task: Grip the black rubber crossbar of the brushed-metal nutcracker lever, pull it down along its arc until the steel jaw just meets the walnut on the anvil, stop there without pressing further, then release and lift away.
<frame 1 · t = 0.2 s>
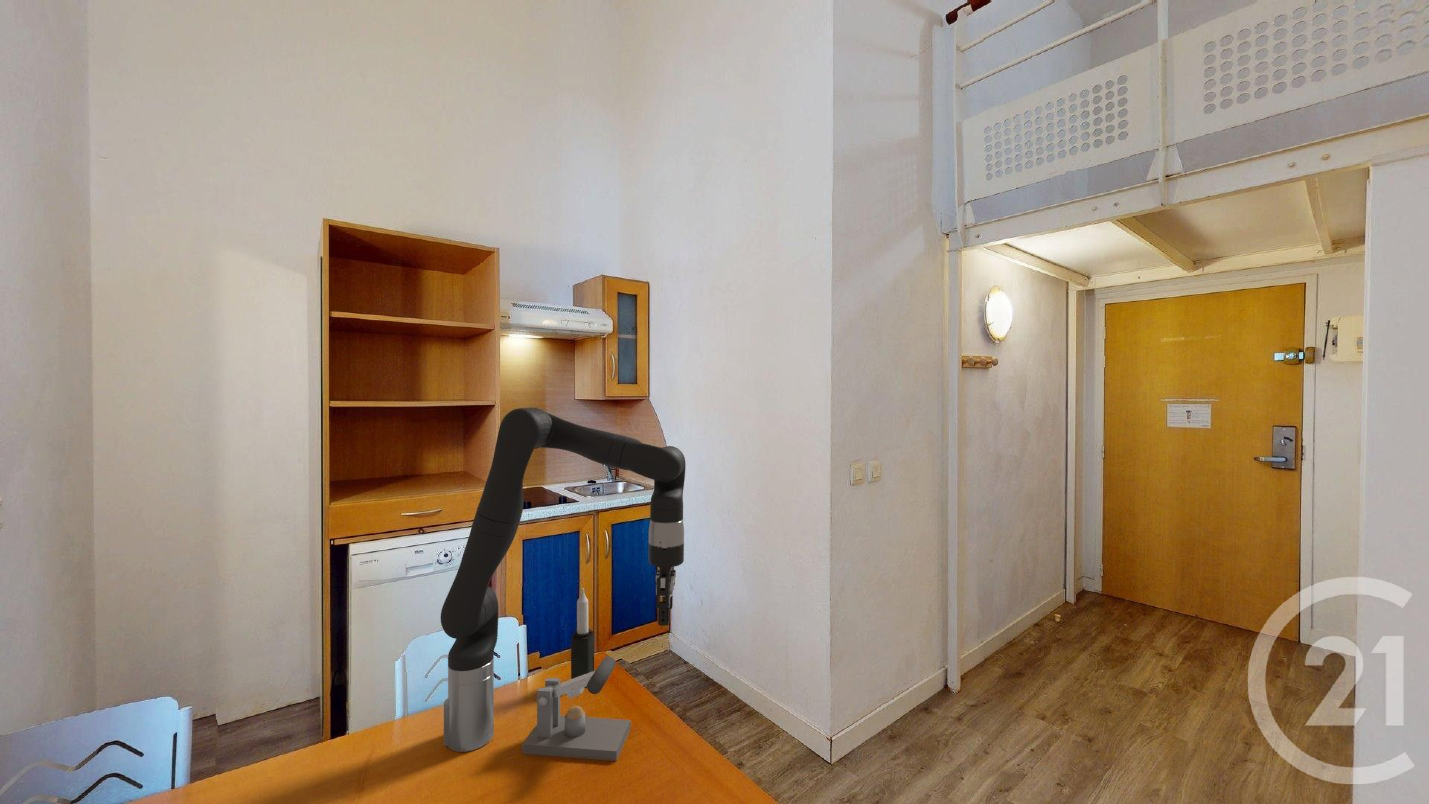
hand: (665, 616, 115), 29 cm above the table, tool pointing down, fingers open, 8 cm apart
black and grey rod: (582, 683, 143), on the table
lever: (575, 685, 118), point 12 cm above the table, hinge at -22.0°
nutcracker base: (548, 738, 119), on the table
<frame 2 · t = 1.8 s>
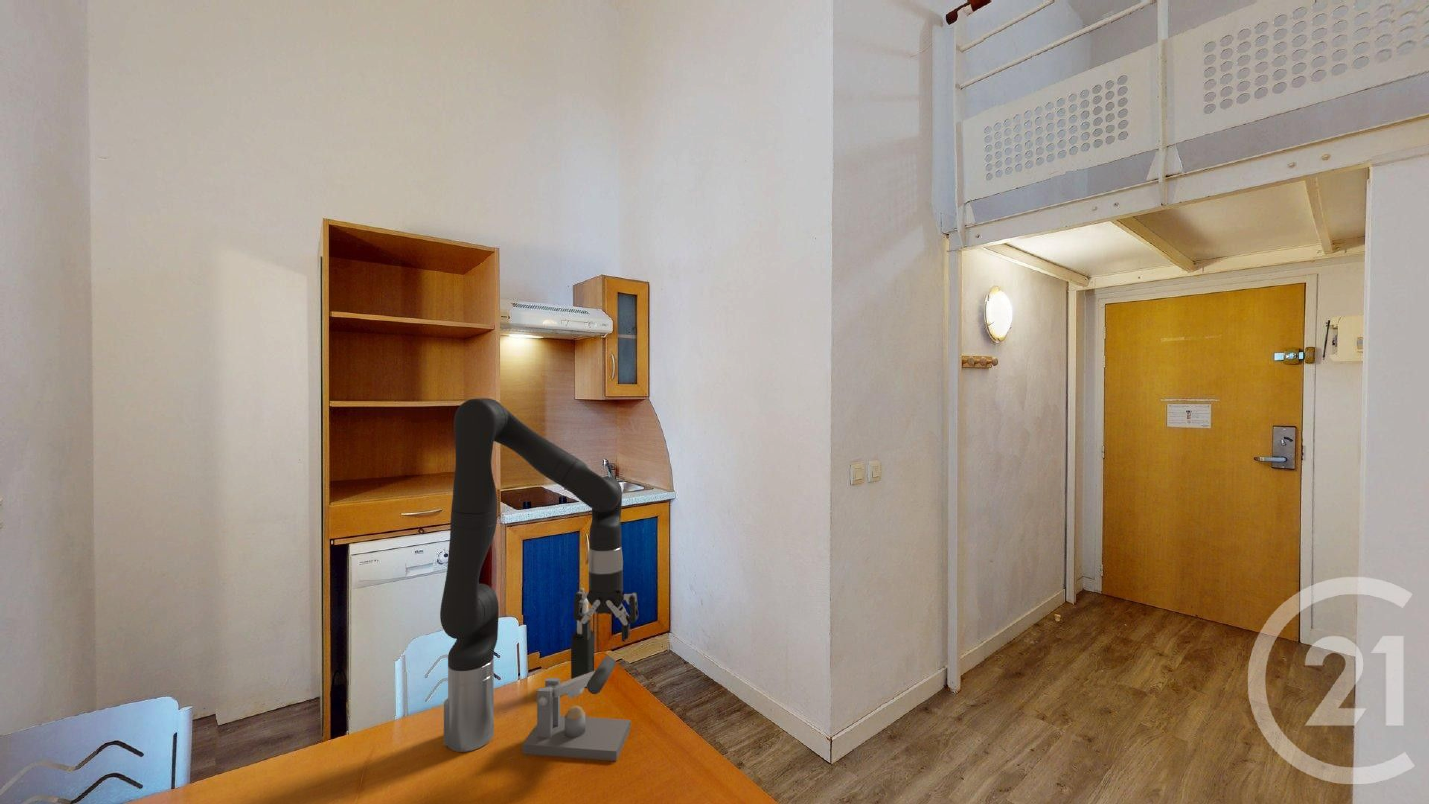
hand: (606, 639, 121), 21 cm above the table, tool pointing down, fingers open, 8 cm apart
nothing on the table moved.
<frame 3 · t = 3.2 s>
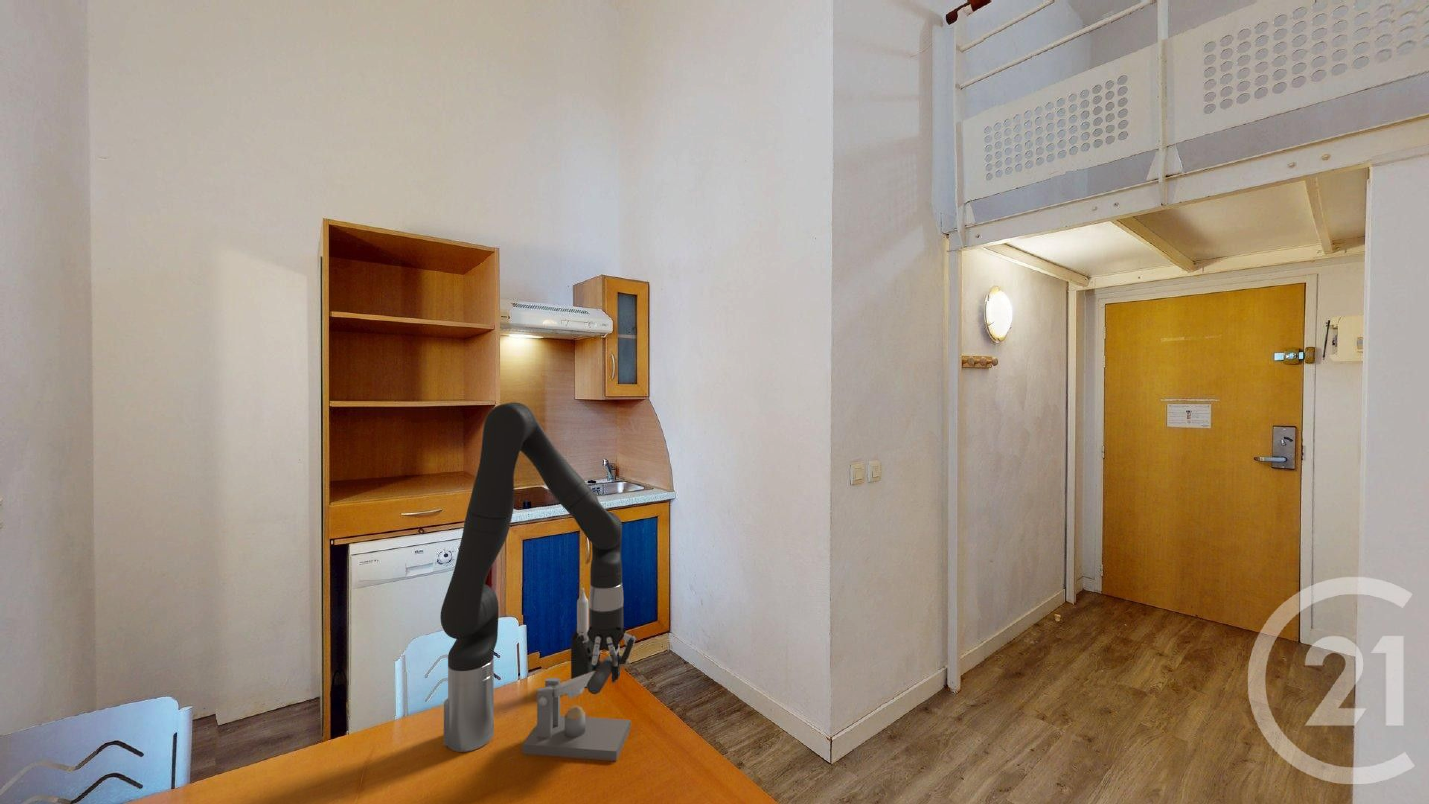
hand: (606, 679, 121), 12 cm above the table, tool pointing down, fingers closed on lever, 3 cm apart
lever: (575, 685, 118), point 12 cm above the table, hinge at -22.0°, touching gripper
everything else where it was.
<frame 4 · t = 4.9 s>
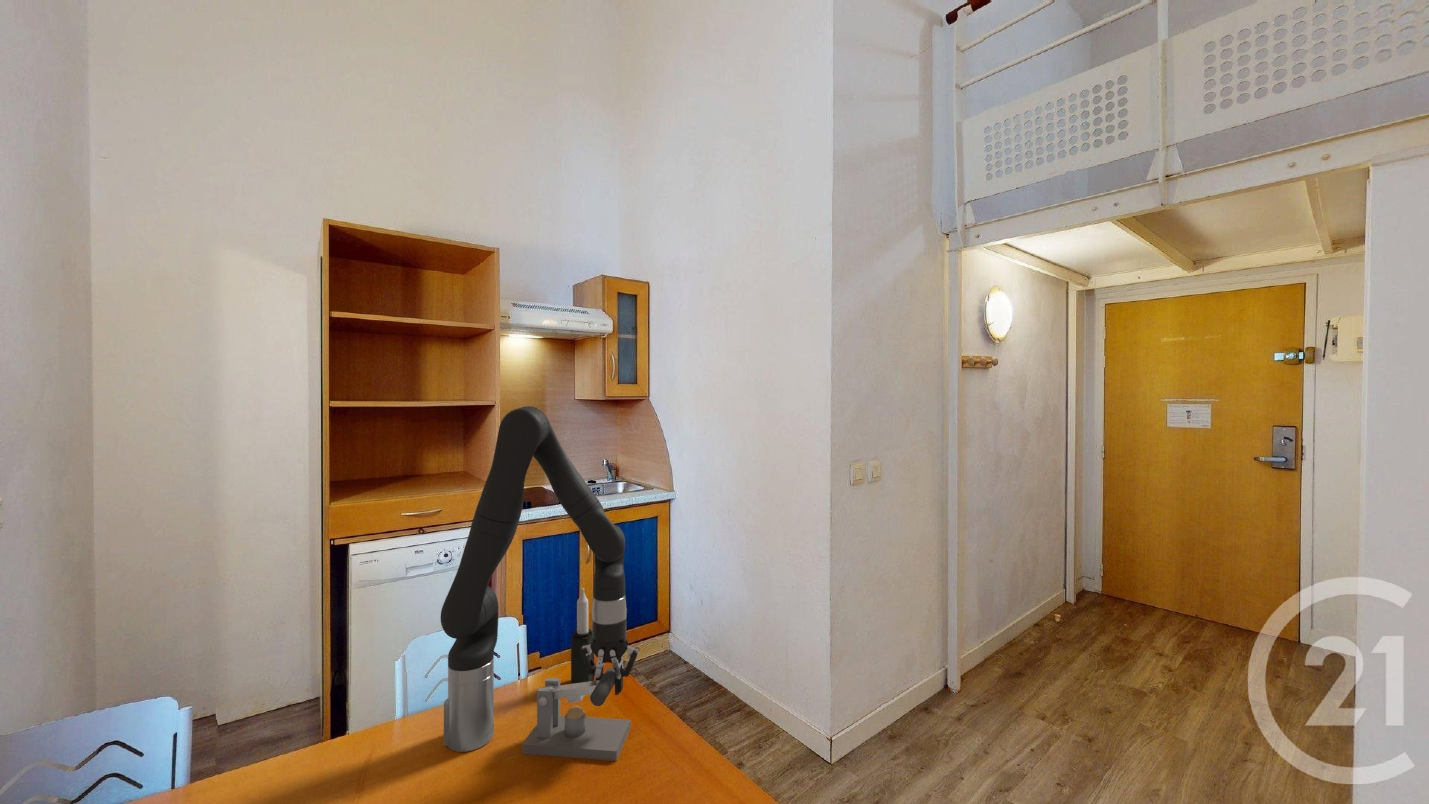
hand: (609, 692, 121), 9 cm above the table, tool pointing down, fingers closed on lever, 3 cm apart
lever: (577, 690, 118), point 11 cm above the table, hinge at -10.7°, touching gripper
everything else where it was.
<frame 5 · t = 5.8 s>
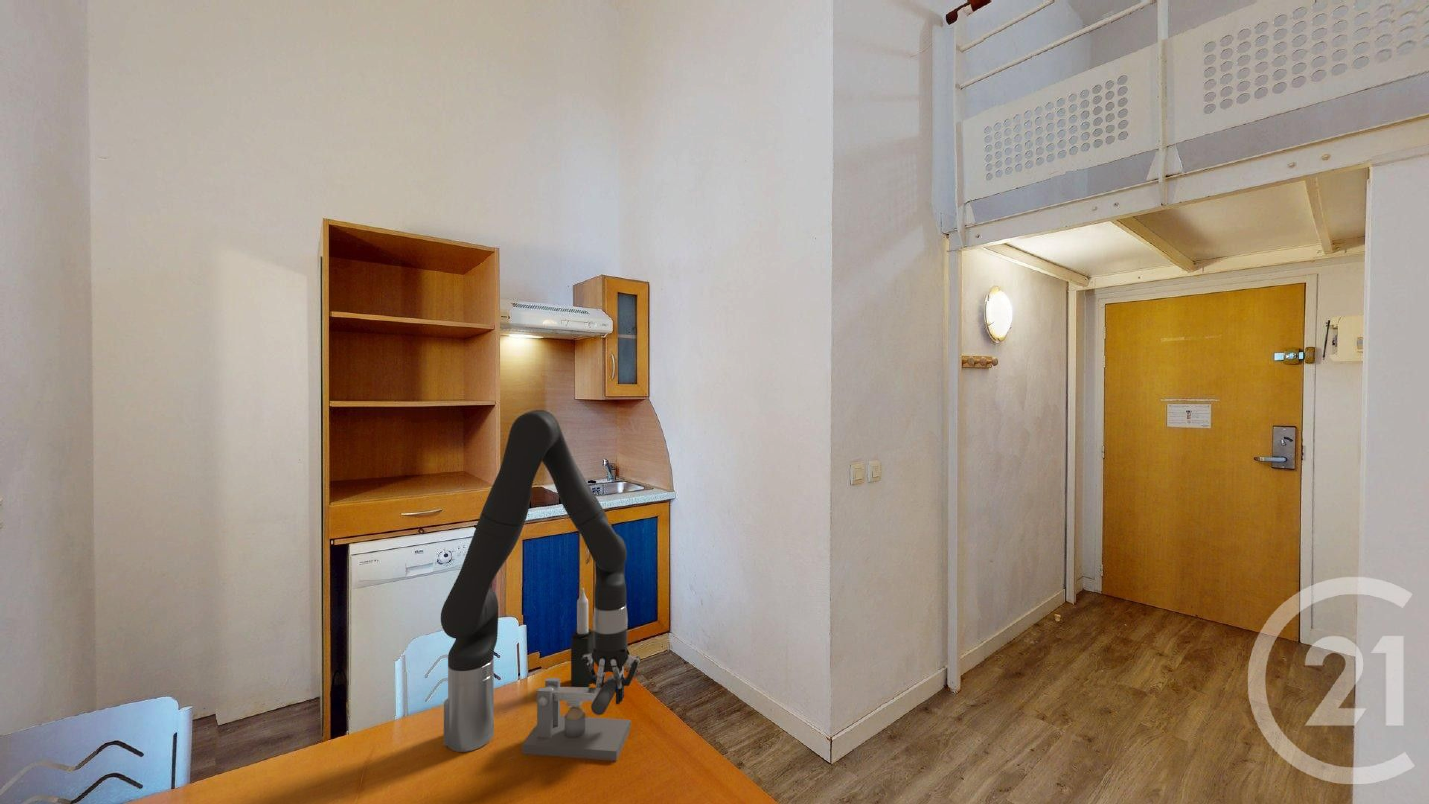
hand: (610, 701, 121), 7 cm above the table, tool pointing down, fingers closed on lever, 3 cm apart
lever: (577, 695, 118), point 10 cm above the table, hinge at -2.5°, touching gripper
everything else where it was.
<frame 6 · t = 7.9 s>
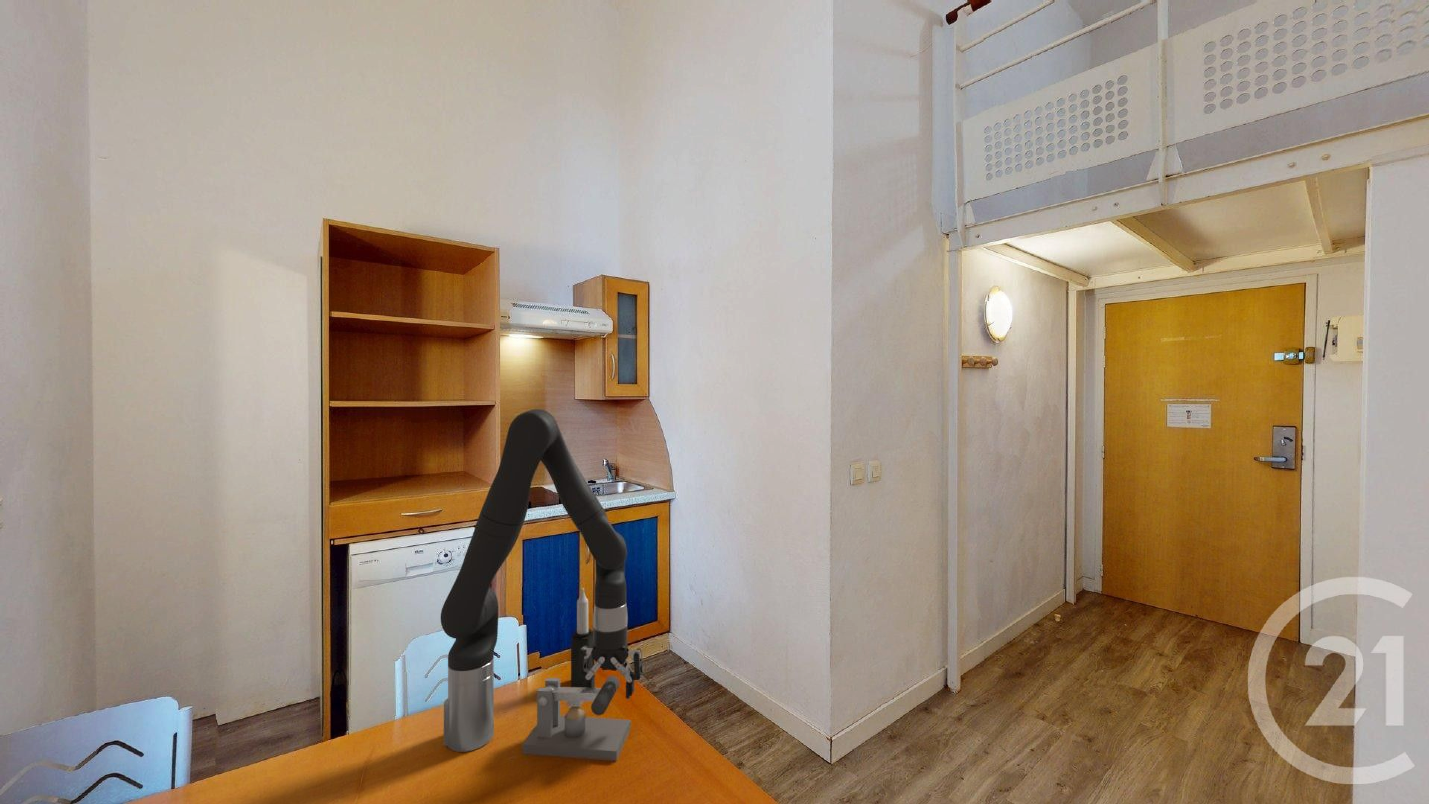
hand: (610, 695, 121), 9 cm above the table, tool pointing down, fingers open, 8 cm apart
lever: (577, 695, 118), point 10 cm above the table, hinge at -2.2°
everything else where it was.
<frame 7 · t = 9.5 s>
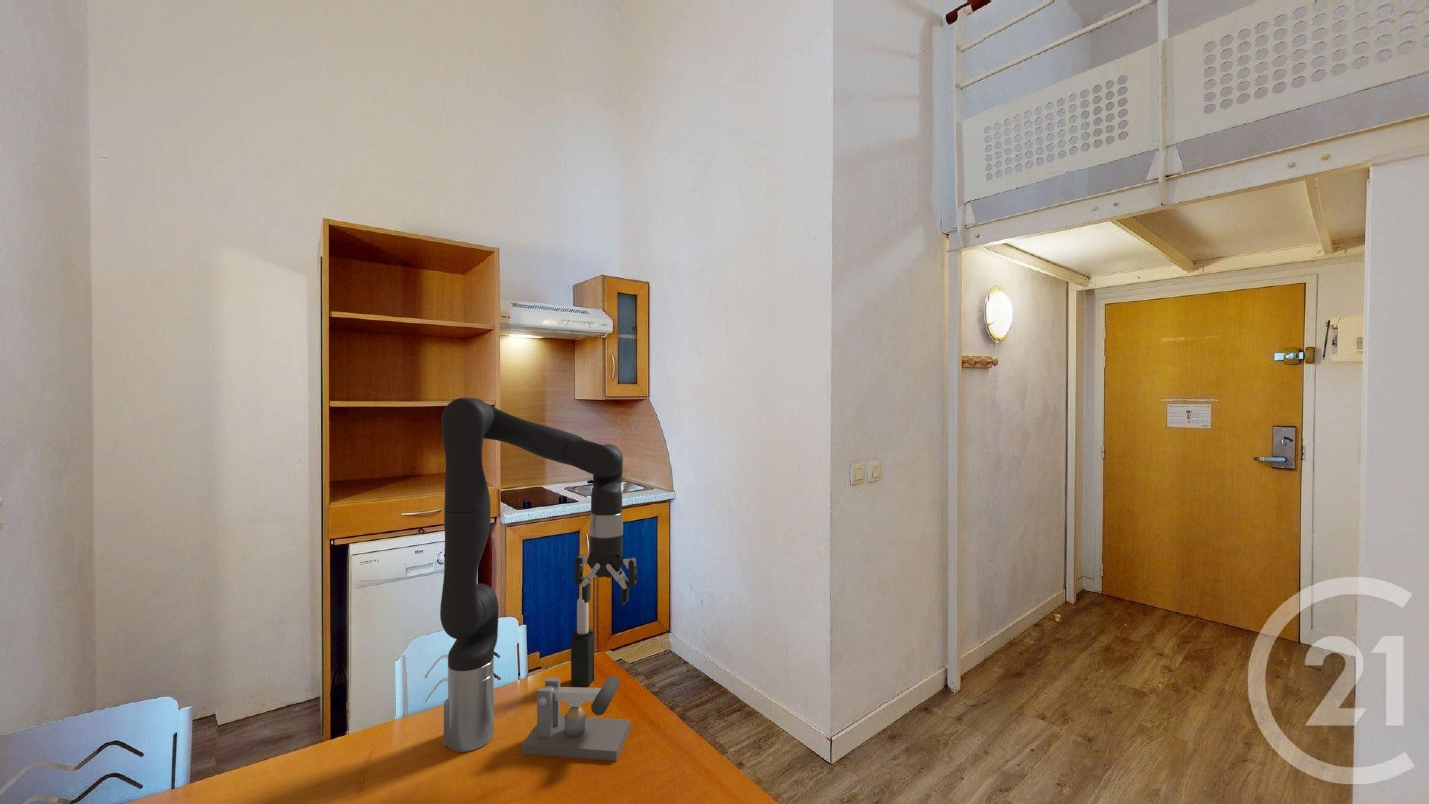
hand: (605, 602, 124), 28 cm above the table, tool pointing down, fingers open, 8 cm apart
nothing on the table moved.
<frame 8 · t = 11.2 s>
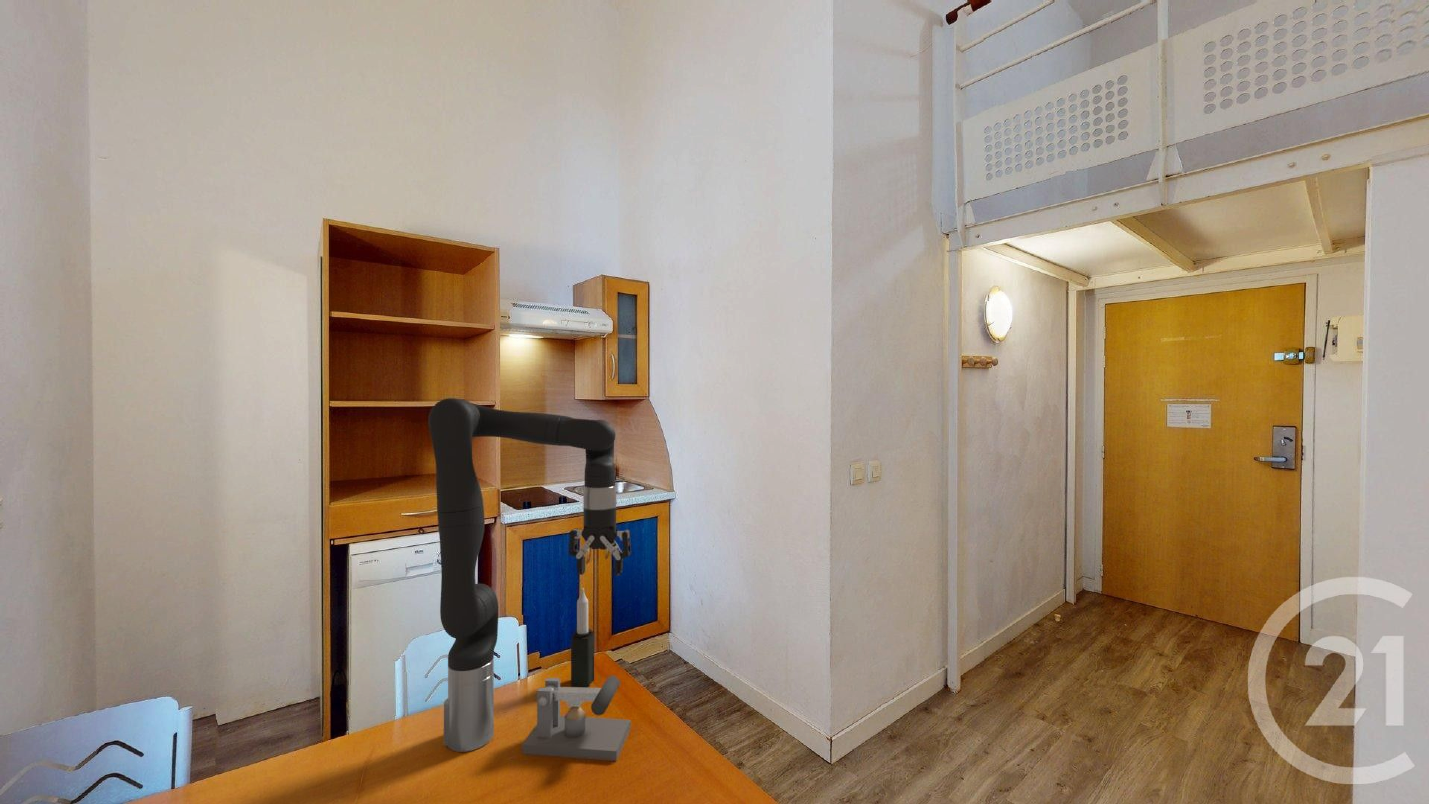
hand: (599, 574, 126), 34 cm above the table, tool pointing down, fingers open, 8 cm apart
nothing on the table moved.
at the end: lever at -2° (first picture: -22°); the gripper is holding nothing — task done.
